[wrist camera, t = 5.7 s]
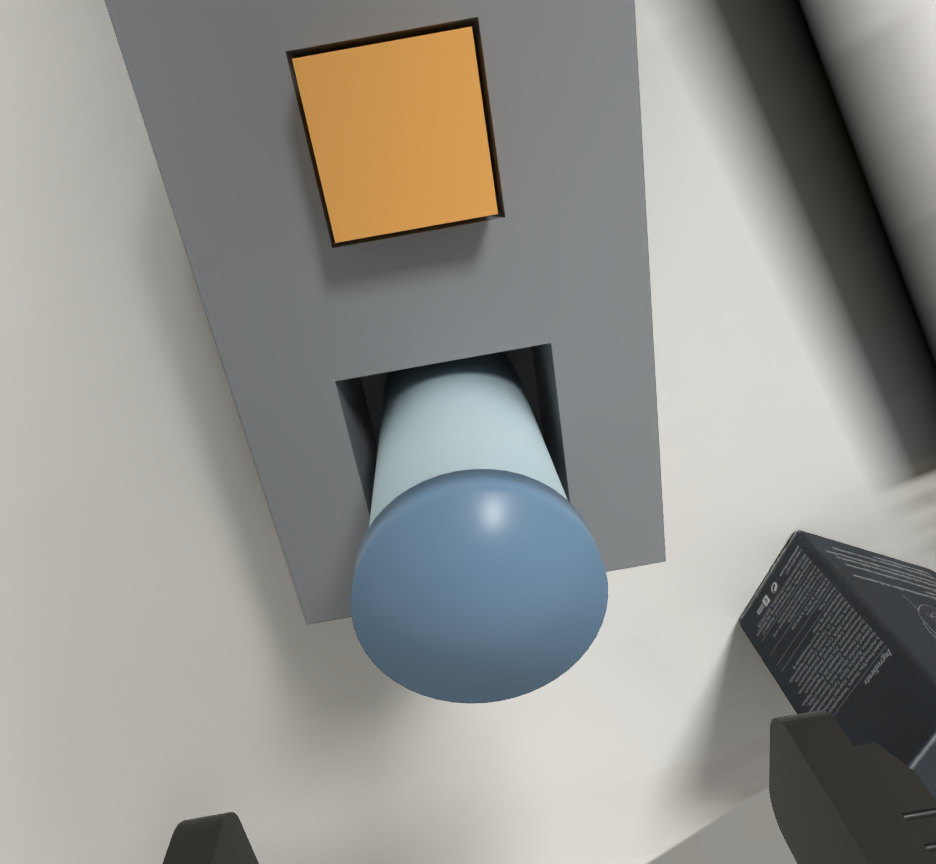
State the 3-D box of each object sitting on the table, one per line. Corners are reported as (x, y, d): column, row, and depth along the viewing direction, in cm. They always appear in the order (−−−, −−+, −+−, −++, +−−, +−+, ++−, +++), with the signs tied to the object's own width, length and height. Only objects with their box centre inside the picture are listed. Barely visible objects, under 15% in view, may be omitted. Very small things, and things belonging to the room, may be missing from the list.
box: (734, 622, 34) (863, 825, 24) (794, 524, 31) (962, 703, 22) (870, 659, 35) (1043, 864, 25) (936, 568, 33) (1151, 753, 23)
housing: (193, 31, 22) (103, -5, 16) (567, -36, 22) (628, -100, 16) (330, 515, 30) (306, 624, 23) (611, 466, 30) (665, 561, 23)
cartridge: (363, 341, 25) (322, 518, 14) (515, 314, 25) (596, 470, 14) (395, 476, 27) (381, 721, 16) (535, 451, 27) (617, 680, 16)
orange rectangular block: (319, 72, 20) (291, 58, 15) (458, 48, 20) (471, 26, 15) (352, 216, 22) (335, 242, 17) (480, 194, 22) (498, 214, 17)
